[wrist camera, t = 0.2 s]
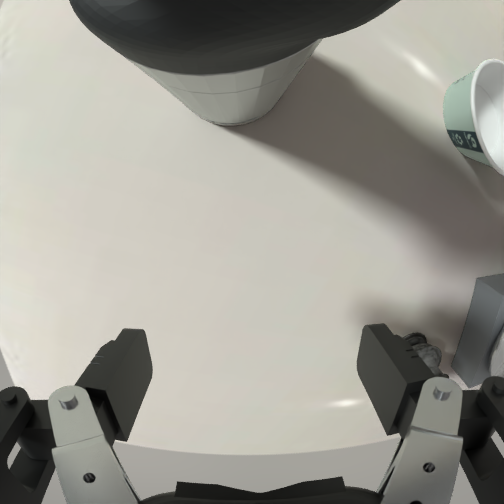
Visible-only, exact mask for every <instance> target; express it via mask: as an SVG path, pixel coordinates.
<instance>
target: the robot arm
mask: <svg viewBox="0 0 504 504" xmlns="http://www.w3.org/2000/svg"><path fill="white" fill-rule="evenodd" d="M69 1H70V4H71V6H72V8H73V10H74V12H75V13H76V15H77V16H78V18H79V19H80V21H81V22H82V23H83V24H84V25H85V26H86V27H87V28H88V29H89V30H90V31H91V32H92V33H93V34H94V35H96V36H97V37H98V38H99V39H101V40H102V41H103V42H104V43H106V44H107V45H109V46H110V47H111V48H113V49H114V50H115V51H117V52H118V53H120V54H121V55H123V56H124V57H125V58H126V59H128V60H129V61H130V62H132V63H133V64H134V65H136V66H137V67H138V68H139V69H141V70H142V71H143V72H145V73H146V74H147V75H148V76H150V77H151V78H153V79H154V80H155V81H156V82H158V83H159V84H160V85H161V86H162V87H164V88H165V89H166V90H167V91H169V92H170V93H171V94H172V95H173V96H175V97H176V98H177V99H178V100H179V101H181V102H182V103H183V104H184V105H185V106H186V107H188V108H189V109H190V110H191V111H192V112H194V113H195V114H196V115H198V116H199V117H200V118H202V119H204V120H206V121H208V122H211V123H214V124H218V125H224V126H236V125H242V124H247V123H249V122H252V121H255V120H257V119H259V118H260V117H262V116H264V115H265V114H266V113H267V112H269V111H270V110H271V109H272V108H273V107H274V105H275V104H276V103H277V101H278V100H279V99H280V97H281V96H282V95H283V93H284V92H285V91H286V89H287V88H288V86H289V85H290V83H291V82H292V81H293V79H294V78H295V76H296V75H297V74H298V72H299V71H300V70H301V68H302V67H303V65H304V64H305V63H306V61H307V60H308V59H309V57H310V56H311V54H312V53H313V52H314V50H315V49H316V47H317V46H318V45H319V43H320V42H321V41H322V39H323V38H326V37H330V36H334V35H337V34H341V33H344V32H346V31H349V30H351V29H354V28H357V27H359V26H361V25H363V24H365V23H367V22H369V21H371V20H372V19H374V18H376V17H377V16H379V15H380V14H382V13H383V12H385V11H386V10H388V9H389V8H391V7H392V6H393V5H395V4H396V3H398V2H399V1H400V0H69ZM152 371H153V368H152V361H151V357H150V352H149V347H148V343H147V338H146V333H145V331H144V330H143V329H127V328H124V329H123V330H122V331H121V333H120V334H119V336H118V337H117V338H116V340H115V341H114V340H111V341H109V342H108V343H107V344H105V345H104V346H102V347H101V348H100V350H99V351H98V352H97V354H96V355H95V357H94V358H93V359H92V361H91V364H89V365H88V366H87V368H86V369H85V371H84V372H83V374H82V375H81V377H80V378H79V379H78V381H77V382H76V384H75V385H74V386H65V387H62V388H59V389H57V390H56V391H55V392H53V393H52V394H51V396H50V397H49V399H48V400H30V398H29V396H28V394H27V392H26V391H25V390H24V389H23V388H21V387H8V388H6V389H4V390H2V391H1V392H0V504H41V503H42V500H43V497H44V495H45V492H46V490H47V487H48V485H49V482H50V480H51V477H52V475H53V473H54V470H55V468H56V470H57V474H58V477H59V481H60V484H61V487H62V490H63V494H64V497H65V500H66V502H67V504H449V503H450V500H451V496H452V492H453V488H454V484H455V480H456V476H457V471H458V467H459V462H460V464H461V466H462V468H463V470H464V472H465V474H466V476H467V478H468V480H469V482H470V484H471V486H472V488H473V491H474V493H475V495H476V497H477V500H478V502H479V504H504V458H503V456H502V455H501V453H500V452H499V450H498V448H497V447H496V445H495V443H494V442H493V440H492V438H491V436H492V435H493V433H494V432H495V430H496V431H497V432H498V434H499V436H500V437H501V439H502V440H503V442H504V378H503V377H499V376H491V377H488V378H486V379H485V380H484V381H483V383H482V385H481V388H480V390H462V389H461V387H460V386H459V385H458V384H457V383H456V382H455V381H453V380H451V379H448V378H444V377H436V376H435V375H434V373H433V372H432V371H431V370H430V368H429V367H428V366H427V365H426V363H425V362H424V361H423V360H422V358H421V357H419V355H418V353H417V352H416V351H415V350H414V348H413V347H412V346H411V345H410V344H409V342H408V341H407V340H405V339H403V338H402V337H400V336H398V335H393V333H392V332H391V331H390V330H389V328H388V327H387V326H386V325H385V324H384V323H382V324H372V325H365V326H364V328H363V330H362V336H361V342H360V347H359V352H358V358H357V371H358V375H359V377H360V379H361V381H362V383H363V385H364V387H365V389H366V391H367V394H368V396H369V398H370V400H371V402H372V404H373V406H374V408H375V410H376V412H377V415H378V417H379V419H380V421H381V423H382V425H383V428H384V430H385V432H386V434H387V436H388V435H392V434H396V433H399V434H400V436H401V439H400V441H399V443H398V445H397V448H396V450H395V453H394V455H393V457H392V460H391V462H390V464H389V467H388V469H387V471H386V473H385V476H384V478H383V480H382V482H381V484H380V486H379V488H378V489H377V491H376V492H374V491H370V490H368V489H363V488H358V487H350V486H345V485H344V481H343V478H342V477H336V478H330V479H322V480H314V481H307V482H301V483H297V484H294V485H291V486H287V487H284V488H280V489H276V490H272V491H269V492H264V493H255V492H250V491H245V490H240V489H235V488H230V487H226V486H222V485H218V484H200V483H188V482H187V483H186V482H177V486H176V491H175V492H168V493H162V494H158V495H155V496H151V497H149V498H146V499H144V500H141V499H140V497H139V496H138V494H137V492H136V491H135V489H134V487H133V485H132V484H131V482H130V480H129V478H128V476H127V475H126V472H125V471H124V469H123V467H122V465H121V463H120V461H119V459H118V457H117V455H116V453H115V451H114V449H113V447H112V446H113V443H114V441H115V440H120V441H126V442H127V440H128V438H129V435H130V432H131V430H132V427H133V424H134V422H135V419H136V417H137V414H138V411H139V409H140V406H141V404H142V401H143V399H144V396H145V394H146V391H147V389H148V386H149V384H150V381H151V379H152ZM16 442H17V443H18V444H19V445H20V447H21V449H20V451H19V452H18V454H17V456H16V458H15V460H14V462H13V464H12V466H11V468H10V469H8V465H7V458H8V456H9V454H10V452H11V451H12V449H13V447H14V445H15V443H16Z"/></svg>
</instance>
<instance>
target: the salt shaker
mask: <svg viewBox="0 0 504 504" xmlns="http://www.w3.org/2000/svg"><path fill="white" fill-rule="evenodd" d="M403 339H405V340H407V341H408V342H409V344H410V345H411V346H412V347H413V348H414V350H415V351H416V352H417V353H418V355H419V357H421V358H422V360H423V361H424V362H425V363H426V365H427V366H428V367H429V368H430V370H431V371H432V372H433V373H434V375H435V376H436V377H444V378H448V379H449V376H448V375H447V374H443V373H442V372H441V370H440V369H439V368H438V366H439V364H440V362H441V351H440V350H439V348H437V347H435V346H432V345H429V344H427V340H426V338H425V336H424V335H423V334H421V333H412V334H409V335H407V336H405V337H404V338H403Z"/></svg>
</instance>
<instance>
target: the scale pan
mask: <svg viewBox="0 0 504 504" xmlns="http://www.w3.org/2000/svg"><path fill="white" fill-rule="evenodd" d="M488 371H489V374H490V375H491V376H499V377H503V378H504V327H503V328H502V330H501V332H500V334H499V335H498V337H497V339H496V341H495V344H494V346H493V348H492V351H491V354H490V358H489V362H488Z"/></svg>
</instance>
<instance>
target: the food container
mask: <svg viewBox="0 0 504 504" xmlns="http://www.w3.org/2000/svg"><path fill="white" fill-rule="evenodd" d="M443 115H444V121H445V125H446V129H447V132H448V134H449V136H450V138H451V140H452V142H453V144H454V145H455V146H456V148H457V149H458V150H459V151H460V152H461V153H462V154H463V155H465V156H467V157H469V158H471V159H473V160H476V161H478V162H481V163H483V164H486V165H488V166H490V167H493V168H494V169H495V170H496V171H497V172H498V173H500V174H501V175H503V176H504V62H503V61H501V60H498V59H488V60H485V61H483V62H482V63H481V64H480V65H479V66H478V67H477V69H476V70H475V71H473V72H471V73H470V74H468V75H466V76H464V77H462V78H461V79H459V80H457V81H455V82H454V83H452V84H451V85H450V86H449V88H448V89H447V91H446V94H445V97H444V102H443Z"/></svg>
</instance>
